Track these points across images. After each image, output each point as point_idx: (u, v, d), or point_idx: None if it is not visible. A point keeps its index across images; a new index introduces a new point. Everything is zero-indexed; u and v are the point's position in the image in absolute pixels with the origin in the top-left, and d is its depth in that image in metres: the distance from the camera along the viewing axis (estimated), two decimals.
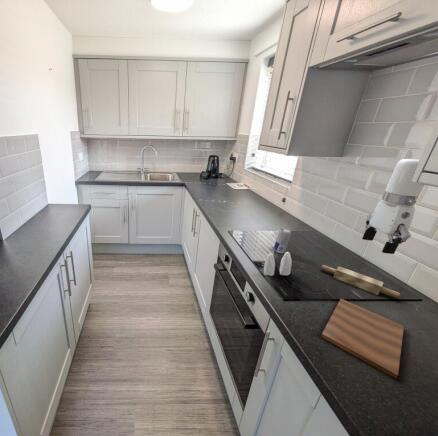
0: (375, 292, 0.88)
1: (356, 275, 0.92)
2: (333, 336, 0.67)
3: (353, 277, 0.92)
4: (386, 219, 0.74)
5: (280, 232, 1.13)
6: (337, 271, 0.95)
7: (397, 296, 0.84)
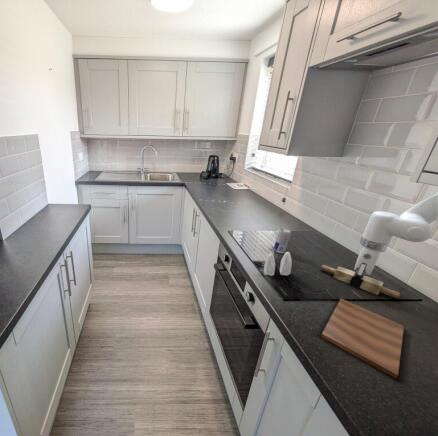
0: (375, 292, 0.88)
1: None
2: (333, 336, 0.67)
3: None
4: None
5: (280, 232, 1.13)
6: (337, 271, 0.95)
7: (397, 296, 0.84)
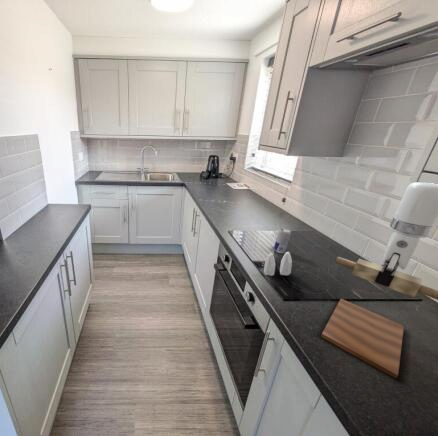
0: (411, 292, 0.65)
1: None
2: (333, 336, 0.67)
3: None
4: (387, 246, 0.67)
5: (280, 232, 1.13)
6: (358, 265, 0.73)
7: None
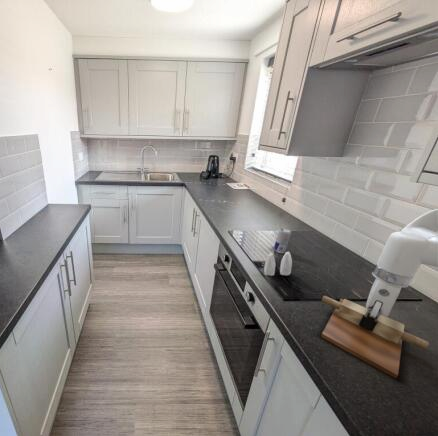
0: (394, 339, 0.66)
1: None
2: (333, 336, 0.67)
3: None
4: (370, 292, 0.67)
5: (280, 232, 1.13)
6: (342, 306, 0.73)
7: (425, 347, 0.62)
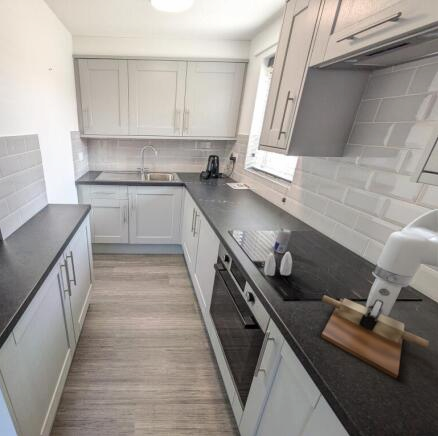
0: (394, 338, 0.66)
1: None
2: (333, 336, 0.67)
3: None
4: (370, 291, 0.68)
5: (280, 232, 1.13)
6: (343, 306, 0.74)
7: (425, 346, 0.62)
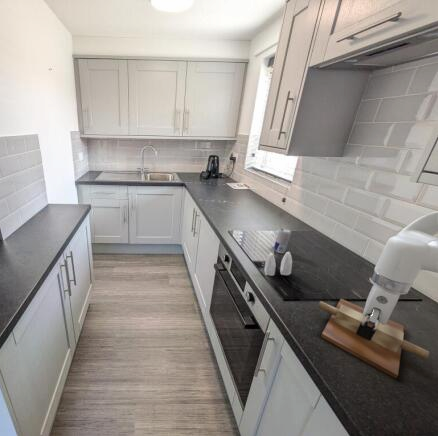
0: (393, 347, 0.63)
1: None
2: (333, 336, 0.67)
3: None
4: (367, 298, 0.65)
5: (280, 232, 1.13)
6: (340, 313, 0.71)
7: (425, 356, 0.59)
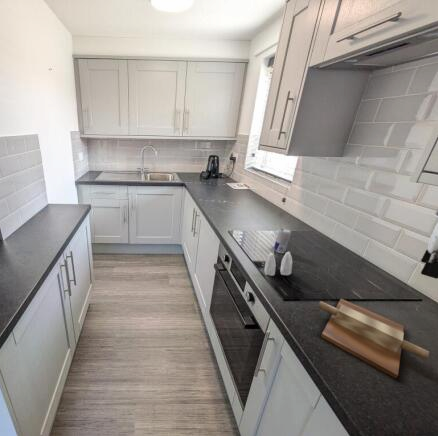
0: (393, 347, 0.63)
1: (366, 320, 0.68)
2: (333, 336, 0.67)
3: (362, 324, 0.67)
4: (433, 236, 0.64)
5: (280, 232, 1.13)
6: (340, 313, 0.71)
7: (425, 356, 0.59)
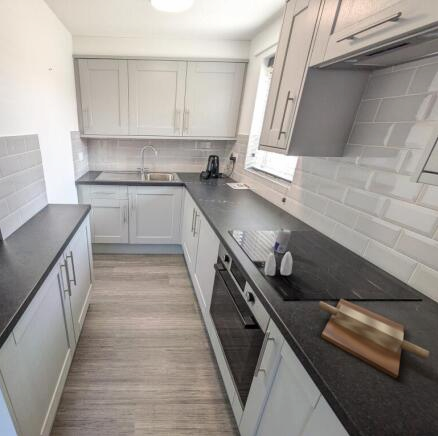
0: (393, 347, 0.63)
1: (366, 320, 0.68)
2: (333, 336, 0.67)
3: (362, 324, 0.67)
4: None
5: (280, 232, 1.13)
6: (340, 313, 0.71)
7: (425, 356, 0.59)
